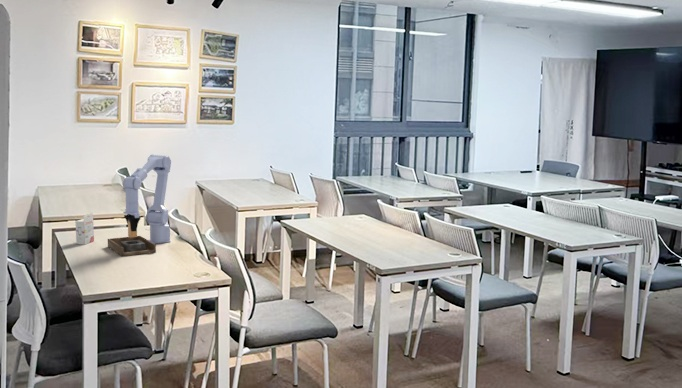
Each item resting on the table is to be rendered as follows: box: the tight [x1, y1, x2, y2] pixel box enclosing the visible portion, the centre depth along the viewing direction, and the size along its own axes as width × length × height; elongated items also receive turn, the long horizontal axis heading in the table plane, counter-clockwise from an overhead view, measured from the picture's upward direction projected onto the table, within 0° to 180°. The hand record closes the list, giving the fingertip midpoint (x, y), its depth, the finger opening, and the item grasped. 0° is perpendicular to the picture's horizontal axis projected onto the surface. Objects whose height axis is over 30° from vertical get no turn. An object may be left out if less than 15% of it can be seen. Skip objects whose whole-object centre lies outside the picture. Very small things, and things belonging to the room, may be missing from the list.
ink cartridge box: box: [75, 212, 95, 246], centre depth 341 cm, size 9×5×15 cm, turn 168°
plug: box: [126, 220, 138, 237], centre depth 327 cm, size 4×4×8 cm
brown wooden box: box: [107, 235, 157, 257], centre depth 330 cm, size 16×22×4 cm
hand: (132, 230), depth 327 cm, fingers closed on plug, 3 cm apart
